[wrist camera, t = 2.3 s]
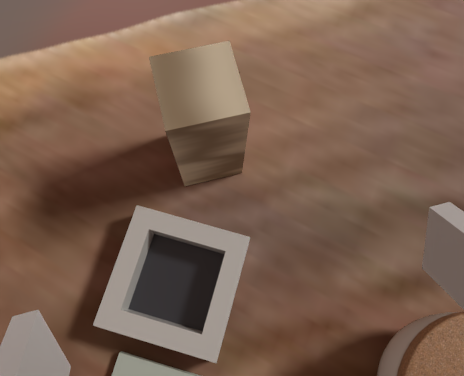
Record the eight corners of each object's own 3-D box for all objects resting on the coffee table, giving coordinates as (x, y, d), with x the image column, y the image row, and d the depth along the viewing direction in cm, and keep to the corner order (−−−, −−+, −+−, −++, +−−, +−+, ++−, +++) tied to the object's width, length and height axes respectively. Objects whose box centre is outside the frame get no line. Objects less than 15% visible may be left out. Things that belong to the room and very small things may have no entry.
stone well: (143, 212, 31) (136, 205, 29) (248, 242, 31) (250, 237, 28) (103, 323, 29) (92, 325, 26) (217, 357, 28) (216, 363, 26)
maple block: (227, 121, 34) (229, 40, 23) (241, 172, 32) (250, 112, 22) (172, 133, 33) (148, 56, 23) (184, 186, 32) (165, 130, 21)
